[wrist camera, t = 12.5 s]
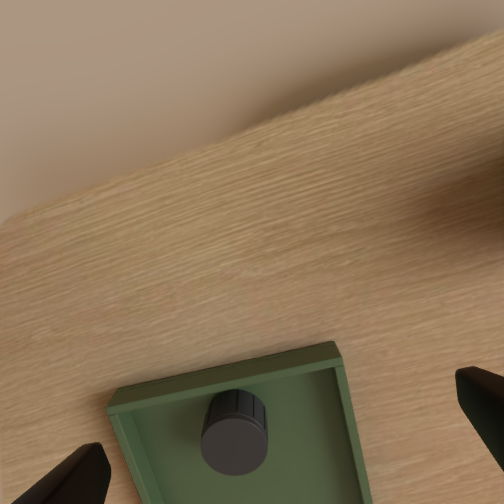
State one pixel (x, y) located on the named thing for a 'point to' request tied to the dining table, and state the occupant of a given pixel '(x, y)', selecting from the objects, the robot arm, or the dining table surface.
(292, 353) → the tray
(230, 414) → the flask cap
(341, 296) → the dining table surface
